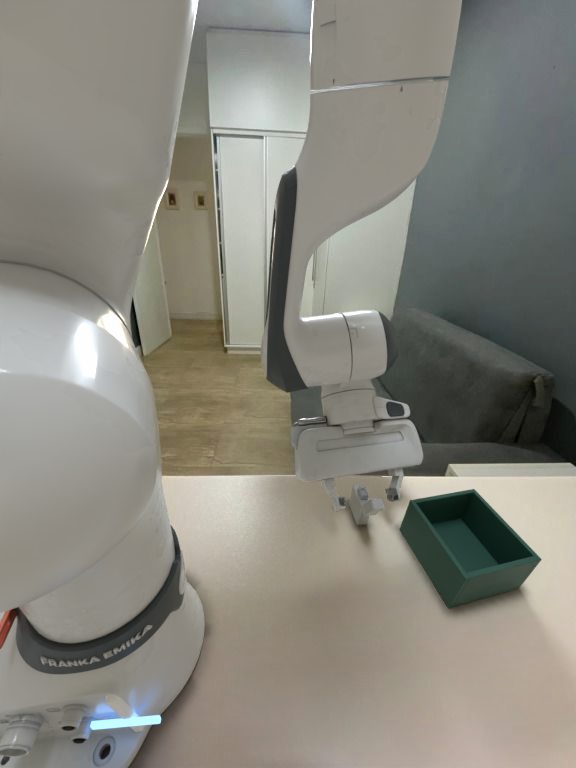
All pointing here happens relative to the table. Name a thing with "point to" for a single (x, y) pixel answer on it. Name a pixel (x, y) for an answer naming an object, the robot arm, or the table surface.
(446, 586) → the bin
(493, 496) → the table surface
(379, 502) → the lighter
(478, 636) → the table surface
